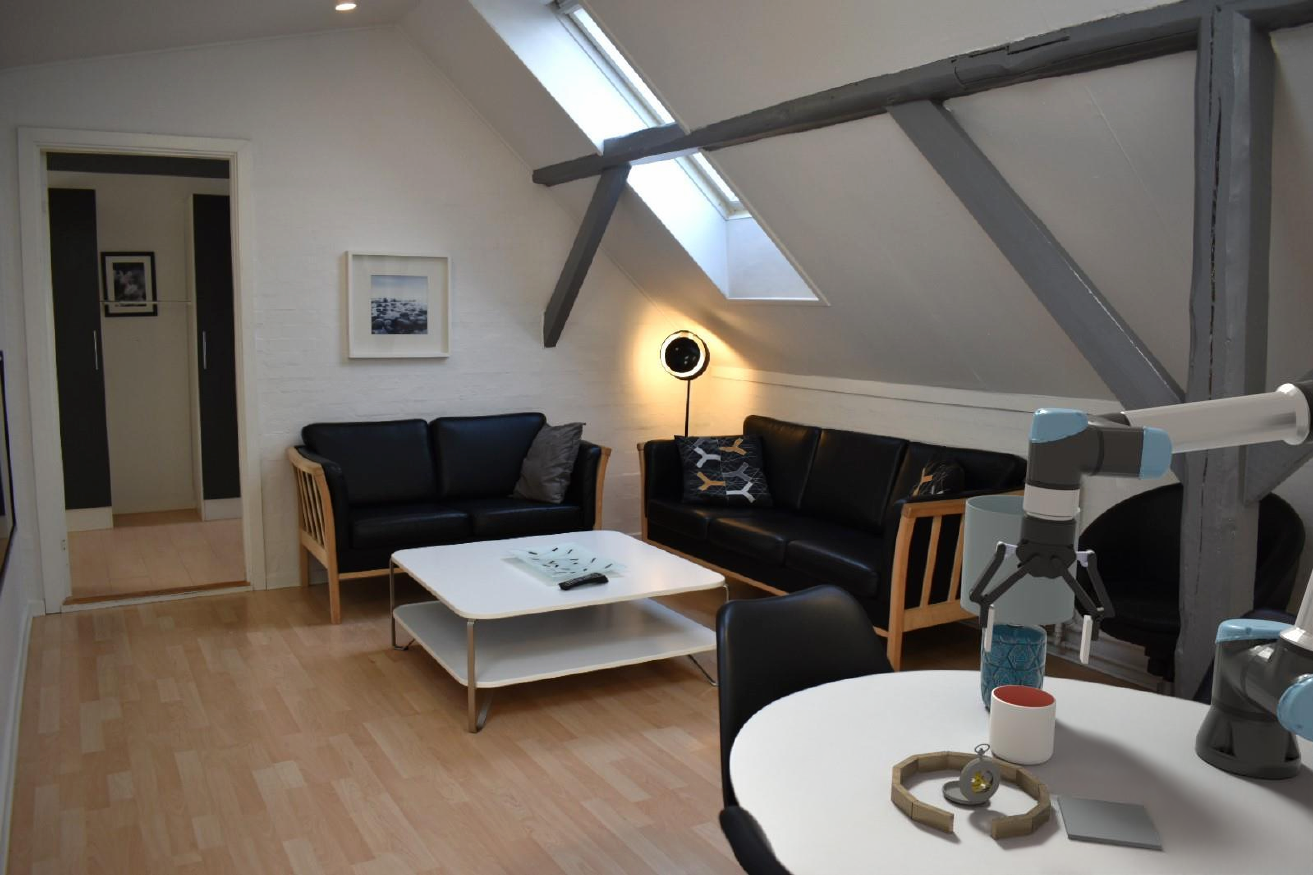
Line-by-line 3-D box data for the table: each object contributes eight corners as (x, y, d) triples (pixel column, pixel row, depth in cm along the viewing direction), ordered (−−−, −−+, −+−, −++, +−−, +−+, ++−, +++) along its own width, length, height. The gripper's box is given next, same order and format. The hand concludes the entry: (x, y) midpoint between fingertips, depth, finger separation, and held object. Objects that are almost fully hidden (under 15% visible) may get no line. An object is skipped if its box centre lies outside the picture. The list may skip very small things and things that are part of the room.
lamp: (969, 728, 185) (981, 515, 180) (944, 687, 204) (954, 493, 199) (1082, 731, 184) (1097, 517, 179) (1046, 690, 203) (1058, 496, 198)
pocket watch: (953, 782, 164) (956, 720, 163) (1006, 799, 159) (1010, 735, 158) (929, 801, 158) (933, 737, 157) (984, 819, 153) (988, 753, 151)
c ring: (1039, 776, 167) (1040, 761, 166) (1057, 847, 145) (1058, 830, 145) (893, 759, 172) (893, 744, 172) (889, 826, 150) (890, 809, 150)
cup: (1056, 770, 169) (1061, 710, 168) (991, 764, 171) (995, 704, 170) (1047, 744, 179) (1051, 687, 177) (985, 738, 181) (988, 682, 179)
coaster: (1143, 808, 157) (1143, 804, 157) (1161, 849, 145) (1161, 845, 145) (1057, 798, 159) (1057, 794, 159) (1068, 837, 148) (1068, 833, 148)
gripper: (1136, 518, 156) (1120, 657, 158) (959, 501, 161) (947, 636, 164) (1146, 528, 148) (1129, 674, 151) (961, 510, 154) (948, 651, 157)
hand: (1034, 655), depth 158 cm, fingers open, 13 cm apart
